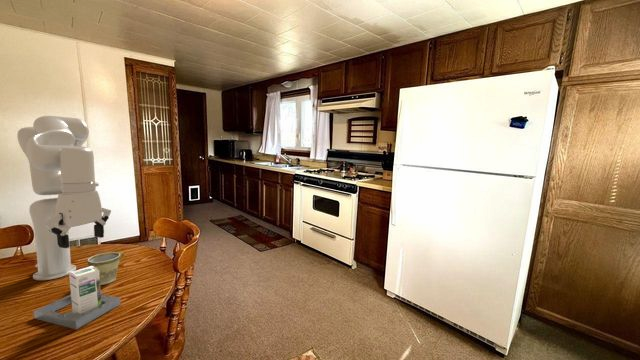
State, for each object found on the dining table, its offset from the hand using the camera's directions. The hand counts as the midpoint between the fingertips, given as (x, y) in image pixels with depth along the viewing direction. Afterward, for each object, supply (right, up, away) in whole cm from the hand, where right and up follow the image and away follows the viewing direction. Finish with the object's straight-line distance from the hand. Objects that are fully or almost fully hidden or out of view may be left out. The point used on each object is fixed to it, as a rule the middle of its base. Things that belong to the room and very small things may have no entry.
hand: (82, 241), depth 81 cm
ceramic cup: (-11, -21, +24) cm, 34 cm away
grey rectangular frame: (-4, -23, +3) cm, 24 cm away
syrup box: (-1, -24, +3) cm, 24 cm away
